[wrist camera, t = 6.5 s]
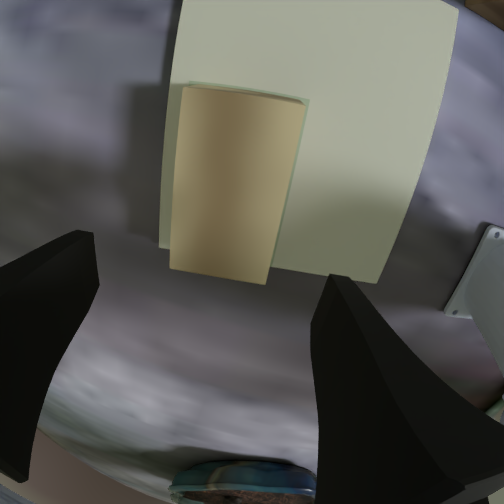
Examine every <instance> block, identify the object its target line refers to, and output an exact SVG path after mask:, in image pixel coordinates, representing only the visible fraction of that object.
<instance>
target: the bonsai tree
mask: <svg viewBox="0 0 504 504" xmlns="http://www.w3.org/2000/svg"><path fill="white" fill-rule="evenodd" d="M316 483H317V477H316V476H315V475H314V474H313V473H312V472H311V471H309V470H306V469H303V468H299V467H296V466H293V465H285V464H278V463H271V462H256V461H237V460H236V461H219V462H208V463H204V464H199V465H195V466H193V467H192V468H191V469H190V470H185V471H180V472H178V473H177V475H176V476H175V478H174V479H173V481H172V485H170V486H169V488H168V490H169V491H170V492H171V493H173V494H171V495H170V496H171V500H172V501H173V502H175V503H178V504H314V502H315V493H316Z"/></svg>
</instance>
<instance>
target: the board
mask: <svg viewBox="0 0 504 504" xmlns="http://www.w3.org/2000/svg"><path fill="white" fill-rule="evenodd" d="M458 12H459V10H458V9H456V8H455V7H453V6H451V5H449V4H447V3H445V2H443V1H441V0H183V4H182V9H181V15H180V20H179V26H178V32H177V38H176V44H175V50H174V57H173V64H172V71H171V79H170V87H169V95H168V104H167V114H166V124H165V135H164V147H163V160H162V175H161V194H160V220H159V248H165V249H170V238H171V216H172V199H173V183H174V170H175V158H176V147H177V136H178V127H179V117H180V109H181V100H182V92H183V87H186V86H191V85H196V84H203V85H212V86H221V87H229V88H236V89H243V90H249V91H256V92H262V93H267V94H273V95H278V96H284V97H289V98H294V99H298V100H300V101H301V102H303V103H304V104H305V105H306V108H305V112H304V117H303V122H302V126H301V131H300V136H299V140H298V145H297V149H296V154H295V159H294V163H293V168H292V172H291V176H290V181H289V185H288V190H287V194H286V199H285V203H284V207H283V212H282V216H281V220H280V225H279V229H278V233H277V238H276V242H275V246H274V250H273V255H272V259H271V263H270V267H275V268H281V269H287V270H293V271H299V272H306V273H312V274H318V275H324V276H329V273H330V274H336V275H342V276H348V277H350V279H351V280H355V281H361V282H367V283H374V284H377V282H378V280H379V277H380V275H381V273H382V271H383V268H384V266H385V264H386V261H387V259H388V257H389V254H390V252H391V250H392V247H393V245H394V242H395V240H396V238H397V235H398V233H399V230H400V228H401V225H402V222H403V220H404V217H405V215H406V212H407V209H408V207H409V204H410V201H411V198H412V196H413V193H414V190H415V187H416V184H417V181H418V178H419V176H420V173H421V169H422V166H423V163H424V160H425V157H426V154H427V151H428V147H429V144H430V141H431V137H432V134H433V130H434V127H435V123H436V120H437V116H438V112H439V108H440V104H441V100H442V96H443V92H444V88H445V84H446V79H447V75H448V70H449V65H450V60H451V55H452V50H453V44H454V38H455V32H456V26H457V19H458Z"/></svg>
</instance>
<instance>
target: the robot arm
mask: <svg viewBox="0 0 504 504" xmlns="http://www.w3.org/2000/svg"><path fill="white" fill-rule="evenodd" d="M496 232H497V233H496ZM495 233H496V235H495ZM99 286H100V284H99V277H98V270H97V262H96V254H95V245H94V235H93V232H87V231H81V230H75V231H72V232H70V233H67V234H65V235H63V236H61V237H59V238H57V239H55V240H53V241H51V242H49V243H47V244H45V245H43V246H41V247H39V248H37V249H35V250H33V251H31V252H29V253H27V254H26V255H24V256H22V257H20V258H18V259H16V260H14V261H12V262H10V263H8V264H6V265H4V266H2V267H0V472H1V473H3V474H4V475H6V476H8V477H9V478H11V479H13V480H15V481H17V482H18V483H22V482H25V481H27V480H28V478H29V467H30V460H31V452H32V446H33V441H34V437H35V432H36V428H37V423H38V420H39V416H40V413H41V409H42V406H43V403H44V399H45V396H46V394H47V391H48V388H49V385H50V383H51V380H52V377H53V375H54V372H55V370H56V368H57V366H58V364H59V362H60V360H61V358H62V357H63V355H64V353H65V351H66V349H67V348H68V346H69V344H70V342H71V340H72V339H73V337H74V335H75V334H76V332H77V330H78V328H79V327H80V325H81V323H82V321H83V320H84V318H85V316H86V314H87V313H88V311H89V309H90V307H91V304H92V302H93V300H94V297H95V295H96V293H97V290H98V288H99ZM444 313H445V315H446V316H450V317H459V318H469V319H473V320H474V322H475V323H476V325H477V327H478V329H479V330H480V332H481V334H482V336H483V338H484V339H485V341H486V343H487V345H488V347H489V349H490V351H491V353H492V355H493V356H494V358H495V360H496V362H497V364H498V366H499V368H500V370H501V373H502V375H503V377H504V229H503V228H500V227H497V226H495V225H490V226H488V227H487V229H486V230H485V233H484V235H483V237H482V239H481V241H480V243H479V245H478V248H477V250H476V252H475V254H474V256H473V258H472V260H471V262H470V264H469V266H468V267H467V269H466V271H465V273H464V275H463V277H462V279H461V281H460V282H459V284H458V286H457V288H456V290H455V291H454V293H453V295H452V297H451V298H450V300H449V302H448V303H447V305H446V307H445V308H444ZM310 350H311V361H312V369H313V377H314V385H315V394H316V402H317V411H318V424H319V441H318V468H317V483H316V493H315V502H314V504H489V501H488V496H489V495H491V494H493V493H494V492H496V491H498V490H499V489H501V488H503V487H504V411H503V413H502V416H501V419H500V423H499V422H497V421H496V420H494V419H492V418H491V417H489V416H488V415H486V414H485V413H484V412H482V411H481V410H479V409H478V408H476V407H475V406H473V405H472V404H471V403H469V402H468V401H467V400H465V399H464V398H463V397H462V396H460V395H459V394H458V393H457V392H456V391H454V390H453V389H452V388H451V387H449V386H448V385H447V384H446V383H445V382H444V381H442V380H441V379H440V378H439V377H438V376H437V375H436V374H435V373H434V372H433V371H432V370H430V369H429V368H428V367H427V366H426V365H425V364H424V363H423V362H422V361H421V360H420V359H419V358H418V357H417V356H416V355H415V354H414V353H413V352H412V351H411V350H410V348H409V347H408V346H407V345H406V344H405V343H404V342H403V341H402V339H401V338H400V337H399V336H398V335H397V334H396V333H395V332H394V330H393V329H392V328H391V327H390V326H389V325H388V323H387V322H386V321H385V320H384V319H383V317H382V316H381V315H380V314H379V312H378V311H377V310H376V309H375V307H374V306H373V305H372V304H371V302H370V301H369V300H368V299H367V298H366V296H365V295H364V294H363V293H362V291H361V290H360V289H359V288H358V286H357V285H356V284H355V283H354V282H353V281H352V280H351V279H350V277H348V276H342V275H336V274H330V273H329V276H328V279H327V282H326V284H325V287H324V290H323V292H322V295H321V298H320V300H319V303H318V306H317V308H316V311H315V313H314V316H313V318H312V321H311V332H310ZM502 397H503V399H504V394H503V396H502ZM0 504H35V503H33V502H31V501H29V500H27V499H26V498H24V497H22V496H20V495H18V494H16V493H15V492H13V491H11V490H10V489H8V488H6V487H4V486H3V485H1V484H0Z"/></svg>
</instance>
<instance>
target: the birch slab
mask: <svg viewBox="0 0 504 504" xmlns="http://www.w3.org/2000/svg"><path fill="white" fill-rule="evenodd" d="M305 108H306V105H305V104H304V103H303V102H301V101H300V100H298V99H294V98H289V97H284V96H278V95H273V94H267V93H262V92H256V91H249V90H243V89H236V88H229V87H221V86H212V85H203V84H196V85H191V86H186V87H183V92H182V100H181V109H180V117H179V127H178V136H177V147H176V158H175V170H174V183H173V199H172V216H171V238H170V269H175V270H181V271H186V272H192V273H198V274H203V275H209V276H215V277H221V278H226V279H232V280H238V281H244V282H250V283H256V284H262V285H265V284H266V280H267V276H268V271H269V267H270V263H271V259H272V255H273V250H274V246H275V242H276V238H277V233H278V229H279V225H280V220H281V216H282V212H283V207H284V203H285V199H286V194H287V190H288V185H289V181H290V176H291V172H292V168H293V163H294V159H295V154H296V149H297V145H298V140H299V136H300V131H301V126H302V122H303V117H304V112H305Z"/></svg>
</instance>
